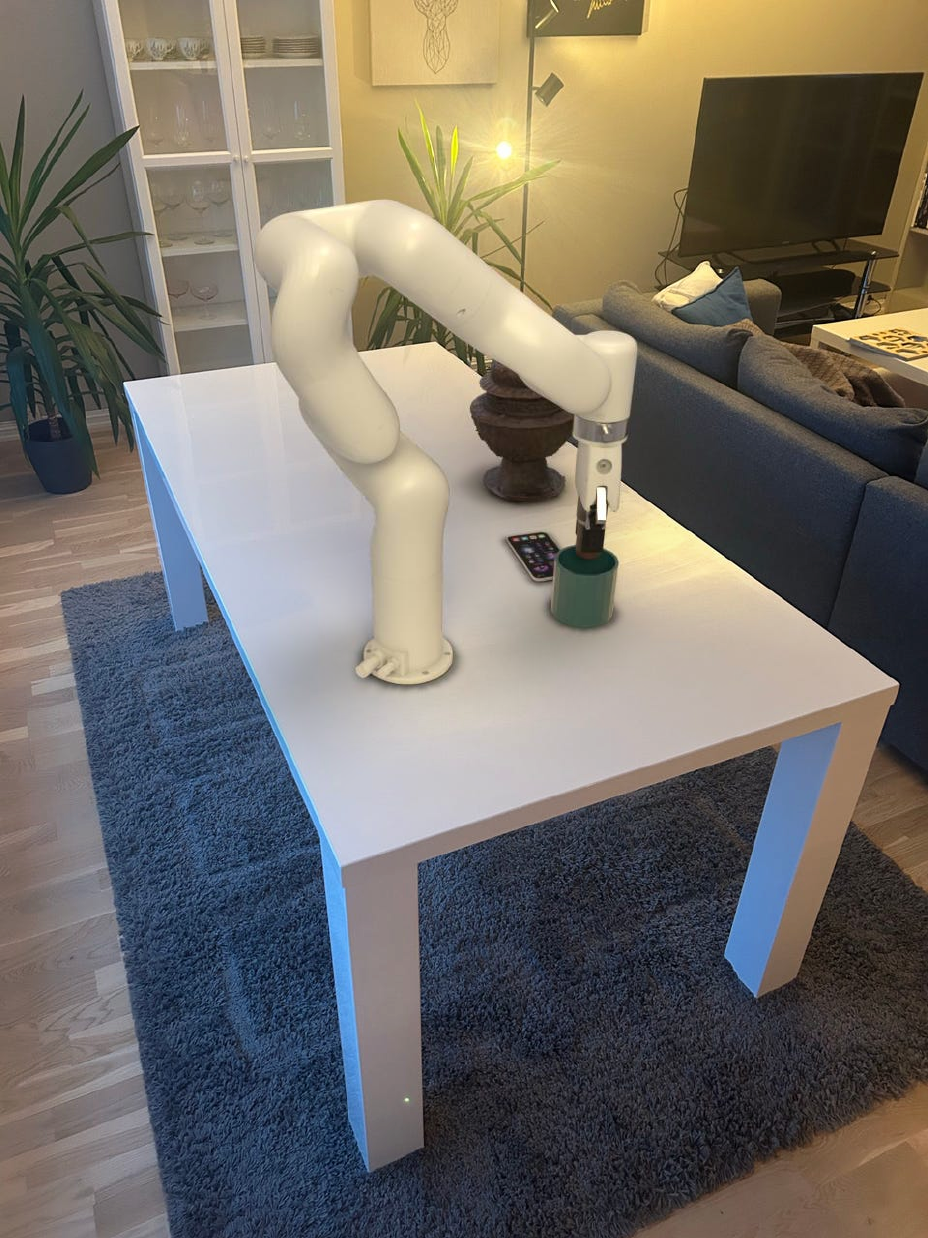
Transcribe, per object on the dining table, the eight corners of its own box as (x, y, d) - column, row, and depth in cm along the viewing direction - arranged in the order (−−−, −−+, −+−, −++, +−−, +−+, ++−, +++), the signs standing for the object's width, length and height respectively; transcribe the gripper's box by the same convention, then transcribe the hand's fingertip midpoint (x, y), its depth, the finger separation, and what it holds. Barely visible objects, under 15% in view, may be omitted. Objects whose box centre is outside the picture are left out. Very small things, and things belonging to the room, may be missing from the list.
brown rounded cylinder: (595, 563, 138) (602, 492, 132) (568, 554, 140) (574, 484, 134) (607, 550, 141) (615, 480, 135) (581, 542, 143) (587, 473, 137)
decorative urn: (598, 477, 185) (602, 294, 165) (547, 523, 171) (544, 331, 151) (509, 456, 195) (502, 282, 174) (453, 499, 181) (439, 315, 161)
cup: (596, 634, 141) (602, 582, 136) (540, 615, 145) (543, 564, 140) (622, 606, 148) (628, 555, 143) (567, 588, 152) (572, 538, 147)
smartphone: (545, 530, 166) (578, 573, 154) (545, 533, 167) (578, 576, 155) (504, 536, 164) (534, 579, 152) (504, 539, 165) (534, 582, 153)
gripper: (640, 450, 123) (625, 572, 133) (616, 403, 137) (604, 516, 147) (583, 450, 123) (572, 573, 133) (564, 403, 136) (555, 517, 147)
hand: (589, 542), depth 140 cm, fingers closed on brown rounded cylinder, 4 cm apart
